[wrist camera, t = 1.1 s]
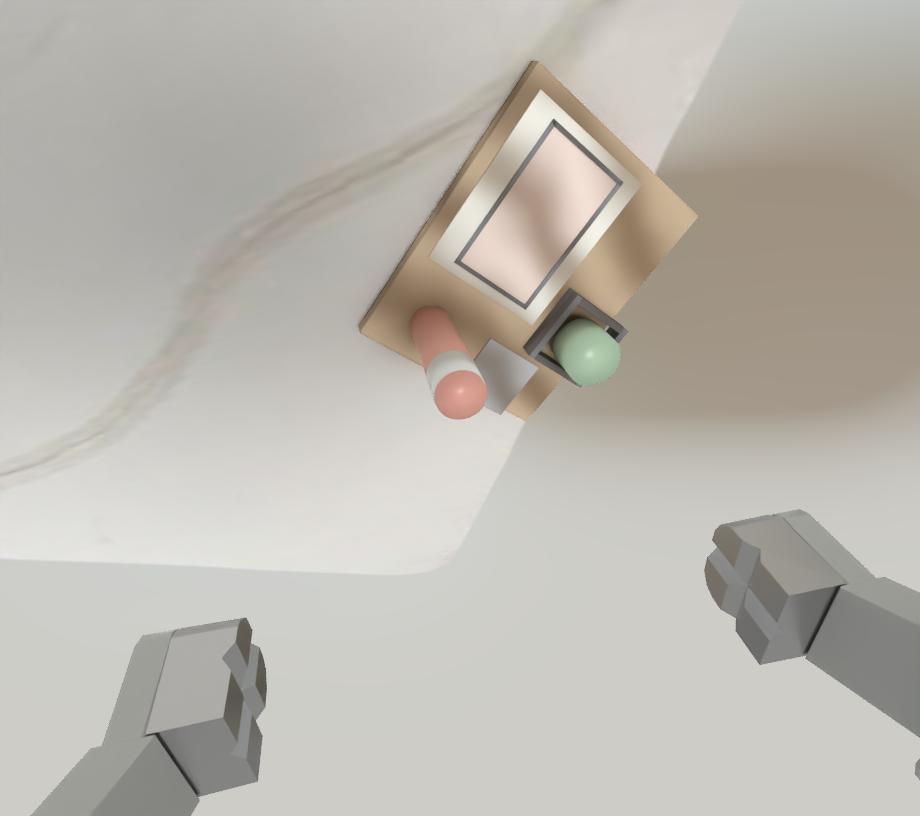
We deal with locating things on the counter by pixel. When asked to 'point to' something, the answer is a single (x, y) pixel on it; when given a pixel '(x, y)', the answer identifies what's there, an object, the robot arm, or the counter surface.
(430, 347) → the marker
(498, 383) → the picture board
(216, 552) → the counter surface
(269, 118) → the counter surface
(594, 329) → the button
